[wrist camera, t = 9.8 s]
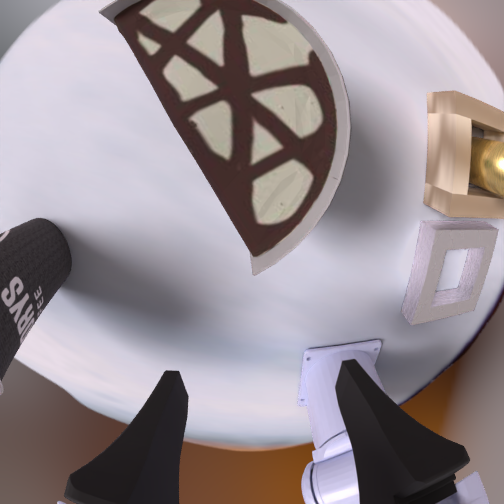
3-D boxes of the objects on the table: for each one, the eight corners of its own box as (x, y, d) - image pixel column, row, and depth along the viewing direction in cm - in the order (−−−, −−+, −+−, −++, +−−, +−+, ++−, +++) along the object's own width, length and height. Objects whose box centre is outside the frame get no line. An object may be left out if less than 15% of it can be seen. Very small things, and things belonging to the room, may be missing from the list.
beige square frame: (487, 206, 19) (510, 219, 15) (423, 203, 19) (448, 216, 15) (492, 116, 15) (518, 119, 12) (426, 92, 15) (454, 90, 12)
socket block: (463, 299, 23) (473, 310, 21) (400, 311, 23) (410, 325, 21) (484, 221, 19) (498, 229, 17) (420, 220, 19) (435, 230, 17)
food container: (333, 170, 18) (413, 212, 8) (253, 209, 19) (260, 288, 10) (247, 18, 13) (250, -71, 4) (165, 59, 14) (93, 4, 5)
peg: (475, 181, 18) (530, 205, 11) (447, 178, 18) (506, 202, 11) (477, 138, 16) (535, 152, 10) (449, 131, 16) (511, 141, 10)
